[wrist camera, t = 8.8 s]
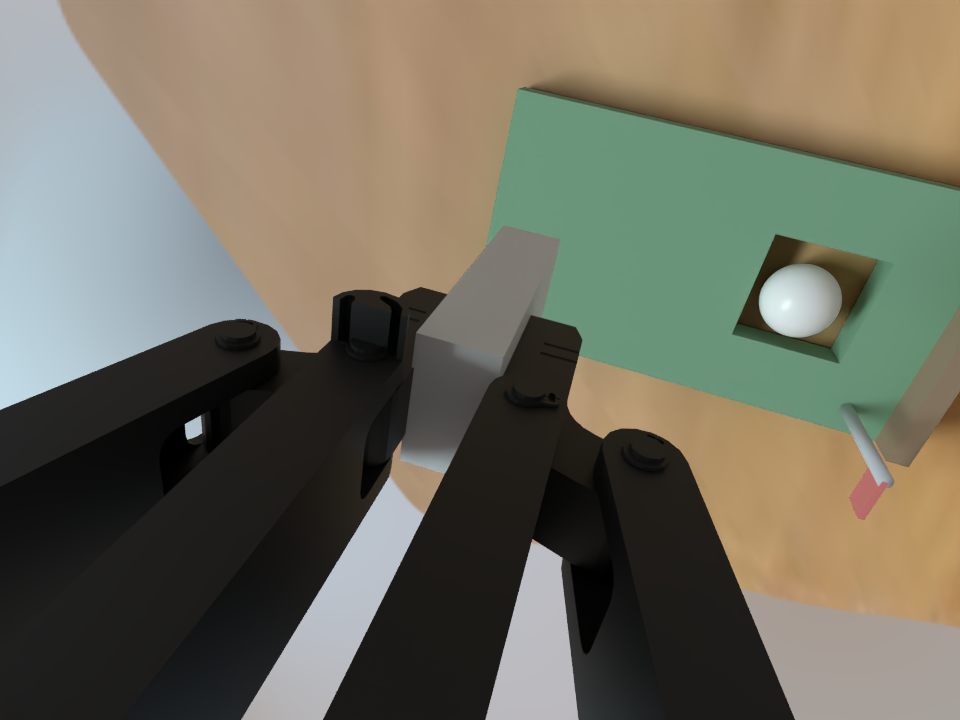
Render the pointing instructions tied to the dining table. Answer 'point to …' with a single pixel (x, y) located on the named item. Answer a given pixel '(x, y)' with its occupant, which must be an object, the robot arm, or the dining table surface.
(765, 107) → the dining table surface
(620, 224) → the green
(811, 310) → the ball
